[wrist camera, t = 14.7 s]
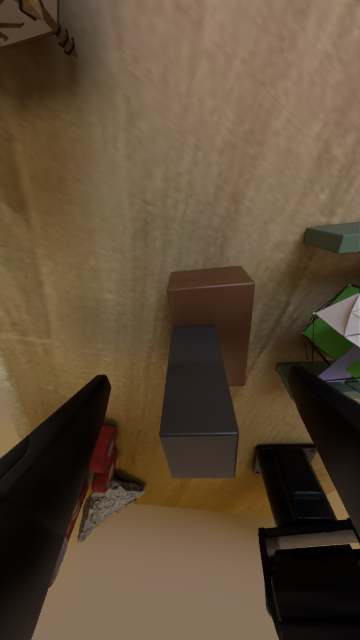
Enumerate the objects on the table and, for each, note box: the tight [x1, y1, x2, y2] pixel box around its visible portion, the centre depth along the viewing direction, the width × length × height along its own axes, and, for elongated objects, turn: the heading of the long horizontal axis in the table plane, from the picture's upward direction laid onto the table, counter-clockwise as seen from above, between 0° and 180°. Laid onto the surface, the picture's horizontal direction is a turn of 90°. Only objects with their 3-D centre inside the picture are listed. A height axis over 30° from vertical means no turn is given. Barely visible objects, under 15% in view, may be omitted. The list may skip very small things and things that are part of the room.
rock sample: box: [78, 476, 145, 543], centre depth 28 cm, size 10×8×9 cm
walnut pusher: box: [159, 266, 255, 478], centre depth 10 cm, size 8×4×9 cm, turn 6°
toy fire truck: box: [49, 425, 117, 587], centre depth 19 cm, size 7×12×10 cm, turn 171°
